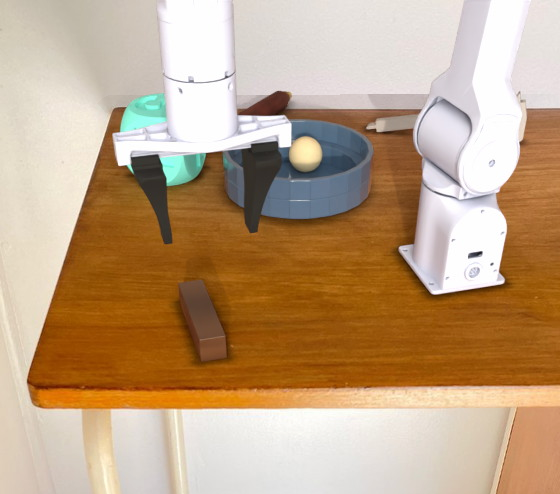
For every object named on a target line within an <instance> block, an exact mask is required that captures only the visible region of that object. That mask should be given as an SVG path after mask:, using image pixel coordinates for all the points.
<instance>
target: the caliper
mask: <svg viewBox="0 0 560 494" xmlns="http://www.w3.org/2000/svg"><path fill="white" fill-rule="evenodd" d="M516 96H517V98H518V101H519V104H520V107H521V110H522V118H521V122H520V126H519V134H518V137H519V143H520V142H522V141H523V139H524V135H525V129H526V125H527V119H528V111H527V102H526V101H527V100H526V99H522V97H521V96H522V95H521V90H519V91H518V93H516ZM419 114H420V113H414V114H405V115H396V116H387V117H379V118H376V119H375V122H370V123H368V124H367V125H366V128H365V129H366V130H373V129H375V130H376V133H383V132H393V131H401V130H411V129H414V125H415V122H416V119H417V117H418V115H419Z"/></svg>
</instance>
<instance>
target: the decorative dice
mask: <svg viewBox="0 0 560 494" xmlns="http://www.w3.org/2000/svg"><path fill="white" fill-rule="evenodd" d="M166 121H167V117H166V106H165V95H164V92H162V93H161V92H159V93H152V94H151V93H150V94H146V95H141V96H139V97H137V98H134V99H133V100H131V102H129V103H128V105H127V106H126V108H125V109H124V112H123V115H122V117H121V122H120V128H119V129H120V130H119V132H125V131H130V130H135V129H139V128H142V127H146V126H150V125H154V124H158V123H162V122H166ZM206 156H207V153H200V154H191V155H182V156H173V157H164V158H160V160H161V162H162V164H163V171H164V173H165V176H166V178H167V187H171V186H178V185H183V184H186V183H189V182H191V181H193V180H195V178H197V177H198V176H199V174H200V173H201V171H202V169H203V166H204V164H205V160H206ZM126 167H127V168H128V170H129V171H130V172H131V174H133V175H134V173H133V170H132V167H131V165H126Z"/></svg>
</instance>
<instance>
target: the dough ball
mask: <svg viewBox="0 0 560 494" xmlns="http://www.w3.org/2000/svg"><path fill="white" fill-rule="evenodd" d="M289 159H290V162H291V164H292V166H293V167H294V168H295V169H296V170H298V171H300V172H311V171H313V170H314V169H316V168H317V167H318V166H319V164H320V162H321V160H322V149H321V146H320V144H319V143H318V142H317V141H316V140H315V139H313V138H311V137H307V136H305V137H300V138H298V139H297V140H295V141H294V142H293V144H292V145H291V147H290V150H289Z"/></svg>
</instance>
